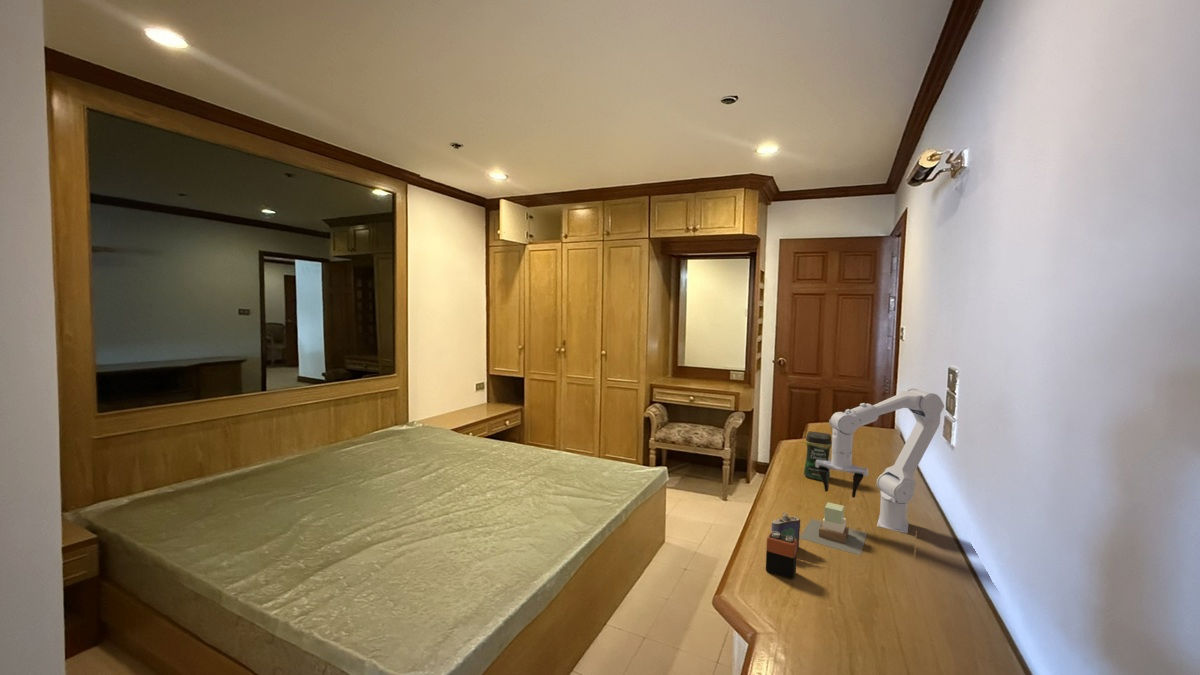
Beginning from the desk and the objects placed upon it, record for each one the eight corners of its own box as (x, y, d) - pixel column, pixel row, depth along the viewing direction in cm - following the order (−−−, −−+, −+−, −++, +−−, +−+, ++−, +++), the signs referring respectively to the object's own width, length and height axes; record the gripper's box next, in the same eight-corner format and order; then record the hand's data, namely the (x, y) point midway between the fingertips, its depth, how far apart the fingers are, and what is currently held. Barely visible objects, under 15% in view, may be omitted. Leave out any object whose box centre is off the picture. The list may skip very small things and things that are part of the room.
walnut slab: (823, 527, 145) (823, 520, 145) (848, 534, 141) (848, 526, 141) (818, 536, 140) (819, 528, 139) (845, 543, 136) (845, 535, 135)
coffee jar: (802, 478, 189) (804, 433, 188) (805, 472, 196) (807, 428, 195) (829, 482, 184) (831, 436, 183) (830, 476, 191) (832, 432, 190)
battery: (769, 564, 125) (770, 527, 124) (796, 572, 121) (797, 534, 121) (765, 571, 121) (766, 534, 121) (793, 580, 118) (794, 541, 117)
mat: (810, 519, 152) (810, 518, 152) (867, 534, 142) (867, 532, 142) (799, 539, 139) (799, 538, 139) (860, 556, 129) (860, 555, 129)
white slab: (825, 521, 144) (826, 513, 144) (845, 526, 141) (846, 518, 141) (822, 528, 140) (822, 520, 139) (842, 533, 136) (843, 525, 136)
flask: (774, 555, 130) (775, 517, 129) (767, 550, 132) (768, 513, 132) (801, 550, 132) (802, 513, 132) (793, 545, 135) (795, 509, 135)
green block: (827, 514, 143) (827, 502, 143) (843, 518, 140) (844, 505, 140) (824, 520, 139) (824, 507, 139) (841, 524, 137) (841, 511, 137)
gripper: (814, 449, 147) (812, 492, 148) (867, 458, 139) (864, 503, 140) (818, 444, 153) (816, 485, 154) (869, 453, 145) (867, 495, 145)
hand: (839, 493), depth 147 cm, fingers open, 7 cm apart
